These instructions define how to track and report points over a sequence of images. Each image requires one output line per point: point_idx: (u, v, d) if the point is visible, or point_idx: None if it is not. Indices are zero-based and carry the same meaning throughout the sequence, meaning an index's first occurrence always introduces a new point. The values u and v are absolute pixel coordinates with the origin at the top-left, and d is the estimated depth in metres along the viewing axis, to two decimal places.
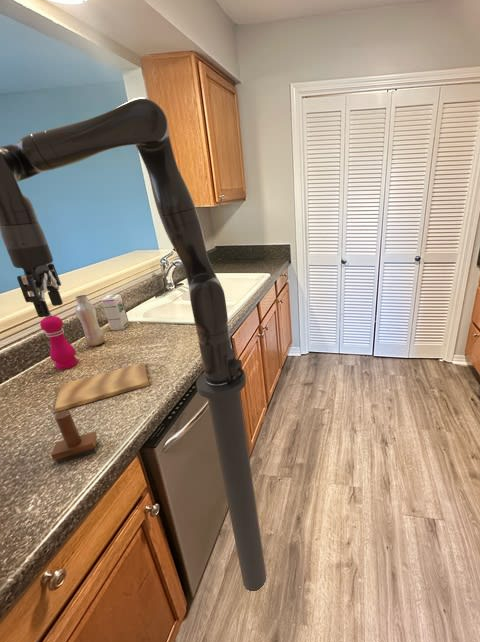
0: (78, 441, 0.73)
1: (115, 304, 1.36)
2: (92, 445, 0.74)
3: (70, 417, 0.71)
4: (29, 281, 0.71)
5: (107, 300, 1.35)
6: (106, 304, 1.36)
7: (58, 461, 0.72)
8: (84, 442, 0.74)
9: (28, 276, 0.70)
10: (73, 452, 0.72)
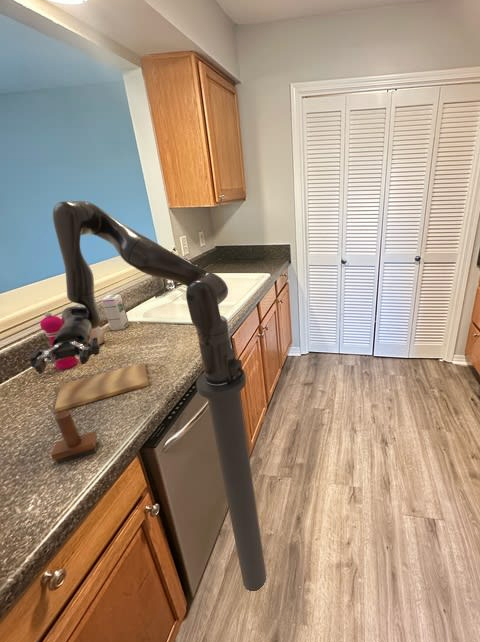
0: (78, 441, 0.73)
1: (115, 304, 1.36)
2: (92, 445, 0.74)
3: (70, 417, 0.71)
4: None
5: (107, 300, 1.35)
6: (106, 304, 1.36)
7: (58, 461, 0.72)
8: (84, 442, 0.74)
9: None
10: (73, 452, 0.72)
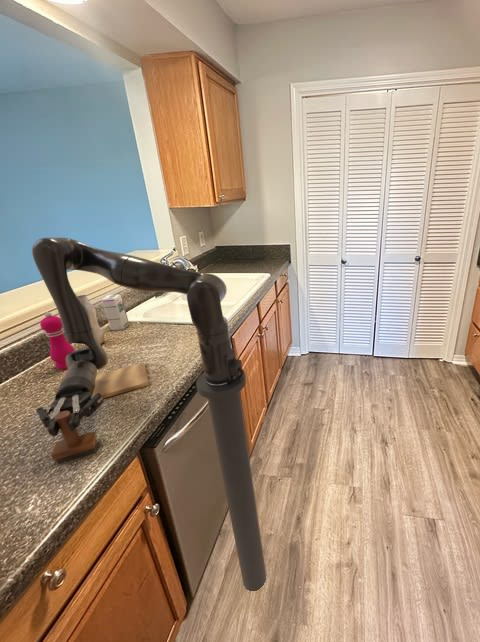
0: (78, 441, 0.73)
1: (115, 304, 1.36)
2: (92, 445, 0.74)
3: None
4: (37, 412, 0.74)
5: (107, 300, 1.35)
6: (106, 304, 1.36)
7: (58, 461, 0.72)
8: (84, 442, 0.74)
9: None
10: (73, 452, 0.72)
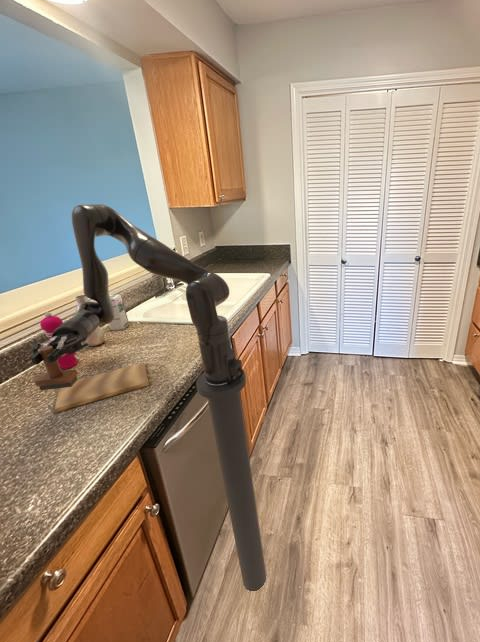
0: (58, 374, 0.84)
1: (115, 304, 1.36)
2: (68, 379, 0.84)
3: (51, 351, 0.82)
4: None
5: None
6: None
7: (41, 388, 0.83)
8: (63, 376, 0.84)
9: None
10: (52, 382, 0.83)
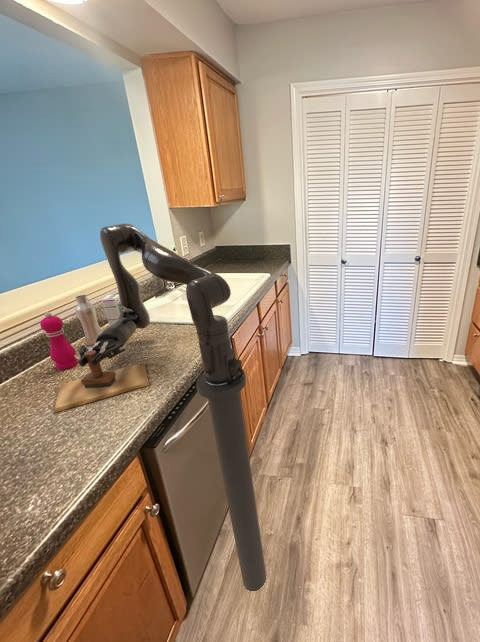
0: (100, 375, 0.97)
1: (115, 304, 1.36)
2: (107, 380, 0.96)
3: None
4: None
5: (107, 300, 1.35)
6: (106, 304, 1.36)
7: (85, 386, 0.97)
8: (103, 377, 0.97)
9: None
10: (95, 382, 0.96)
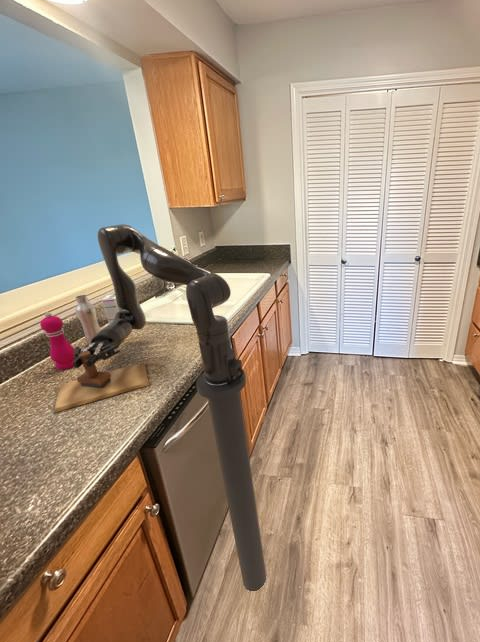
0: (93, 375, 0.97)
1: (115, 304, 1.36)
2: (99, 382, 0.96)
3: (88, 357, 0.94)
4: None
5: (107, 300, 1.35)
6: (106, 304, 1.36)
7: (81, 384, 0.98)
8: (97, 378, 0.97)
9: None
10: (88, 382, 0.97)
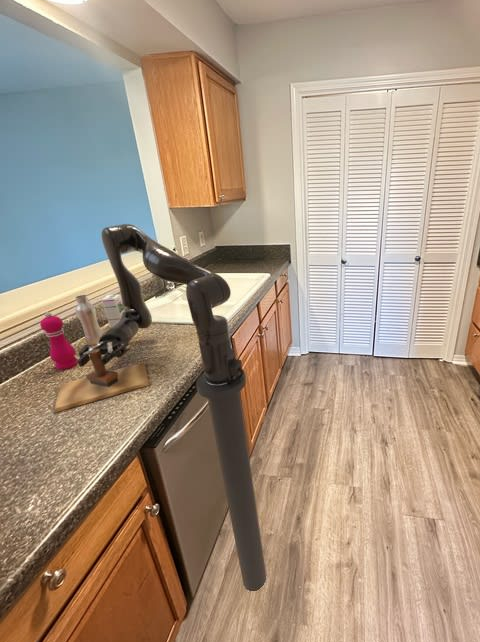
0: (101, 374, 0.98)
1: (115, 304, 1.36)
2: (105, 381, 0.96)
3: (97, 355, 0.95)
4: None
5: (107, 300, 1.35)
6: (106, 304, 1.36)
7: (90, 382, 0.99)
8: (104, 376, 0.97)
9: None
10: (96, 380, 0.98)
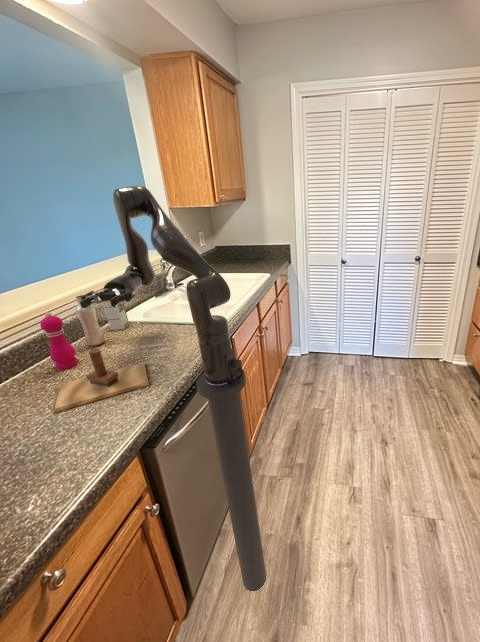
0: (101, 374, 0.98)
1: None
2: (105, 381, 0.96)
3: (97, 355, 0.95)
4: None
5: None
6: (106, 304, 1.36)
7: (90, 382, 0.99)
8: (104, 376, 0.97)
9: None
10: (96, 380, 0.98)
